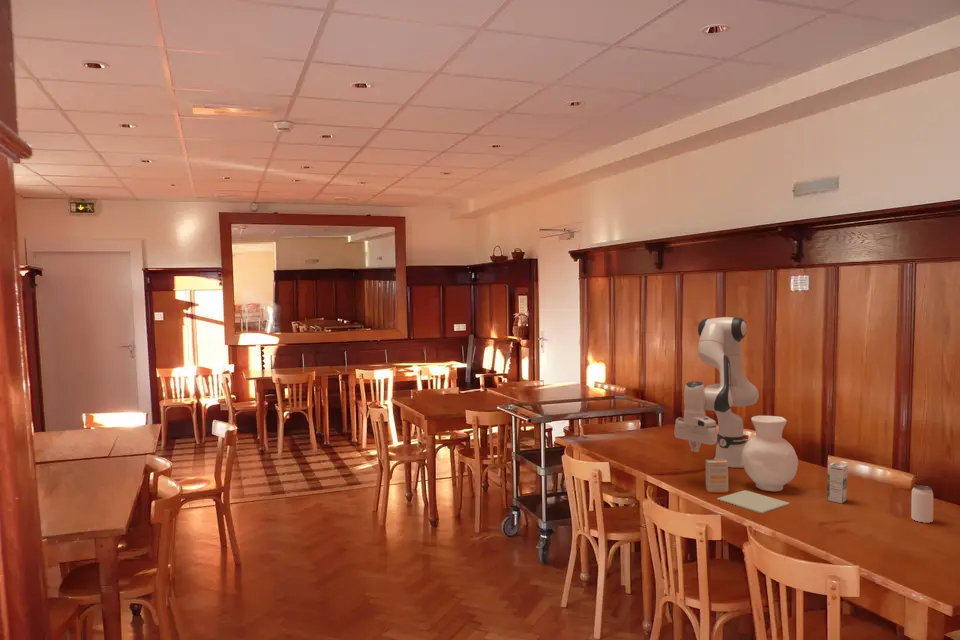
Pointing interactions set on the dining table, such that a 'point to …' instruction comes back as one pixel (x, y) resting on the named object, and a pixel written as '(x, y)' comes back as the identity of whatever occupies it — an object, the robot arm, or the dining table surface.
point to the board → (753, 501)
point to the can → (922, 504)
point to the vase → (769, 454)
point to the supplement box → (716, 475)
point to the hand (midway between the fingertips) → (695, 451)
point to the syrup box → (837, 482)
